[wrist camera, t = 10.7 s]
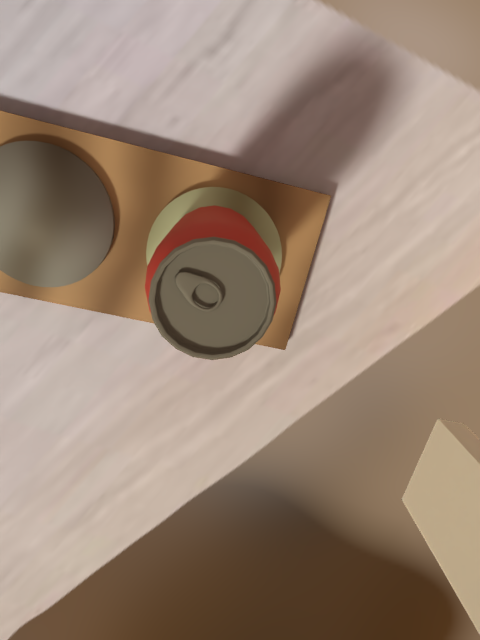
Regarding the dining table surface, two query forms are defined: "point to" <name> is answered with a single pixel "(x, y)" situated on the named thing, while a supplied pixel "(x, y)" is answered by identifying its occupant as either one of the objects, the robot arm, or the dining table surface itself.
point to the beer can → (212, 284)
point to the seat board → (129, 218)
